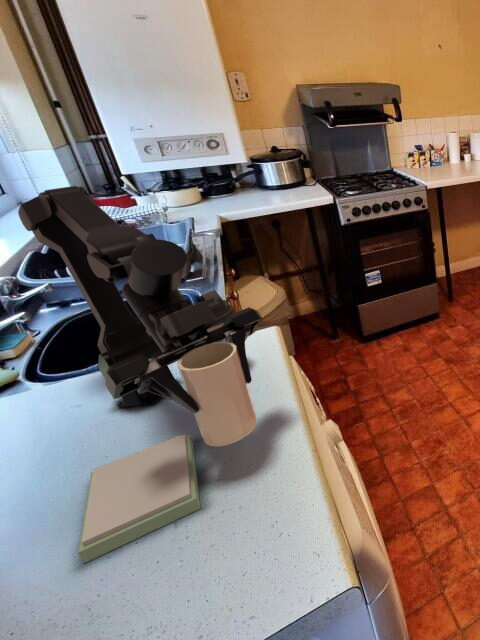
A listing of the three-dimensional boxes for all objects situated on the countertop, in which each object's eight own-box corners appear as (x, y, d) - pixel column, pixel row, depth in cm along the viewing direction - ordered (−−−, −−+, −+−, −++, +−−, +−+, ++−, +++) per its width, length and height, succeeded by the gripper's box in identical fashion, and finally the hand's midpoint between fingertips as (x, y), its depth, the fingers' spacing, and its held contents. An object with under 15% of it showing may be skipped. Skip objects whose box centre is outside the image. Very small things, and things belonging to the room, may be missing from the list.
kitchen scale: (96, 480, 65) (89, 466, 64) (193, 442, 72) (188, 428, 71) (84, 563, 54) (75, 548, 53) (200, 508, 60) (194, 493, 59)
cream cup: (218, 415, 68) (194, 343, 63) (264, 411, 68) (244, 340, 64) (193, 449, 61) (166, 372, 57) (245, 444, 62) (221, 367, 57)
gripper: (79, 311, 51) (154, 420, 50) (240, 258, 66) (300, 341, 64) (79, 350, 57) (145, 446, 56) (225, 294, 72) (280, 369, 71)
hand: (224, 396), depth 62 cm, fingers closed on cream cup, 7 cm apart
